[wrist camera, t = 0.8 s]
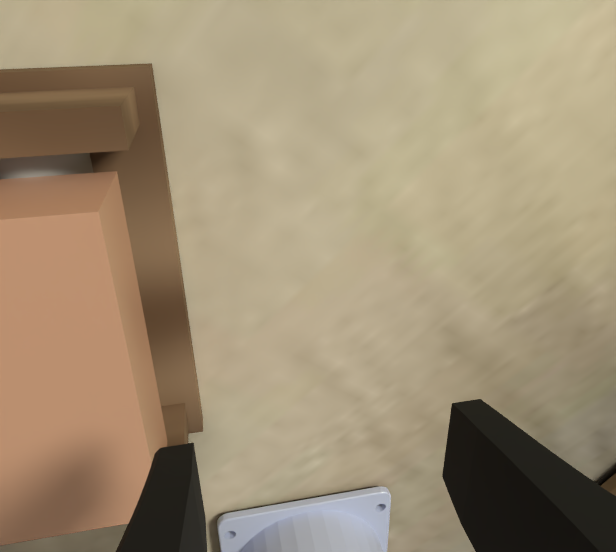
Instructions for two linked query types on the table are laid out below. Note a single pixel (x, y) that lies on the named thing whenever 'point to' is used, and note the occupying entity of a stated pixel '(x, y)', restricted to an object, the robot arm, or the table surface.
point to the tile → (71, 360)
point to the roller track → (134, 190)
